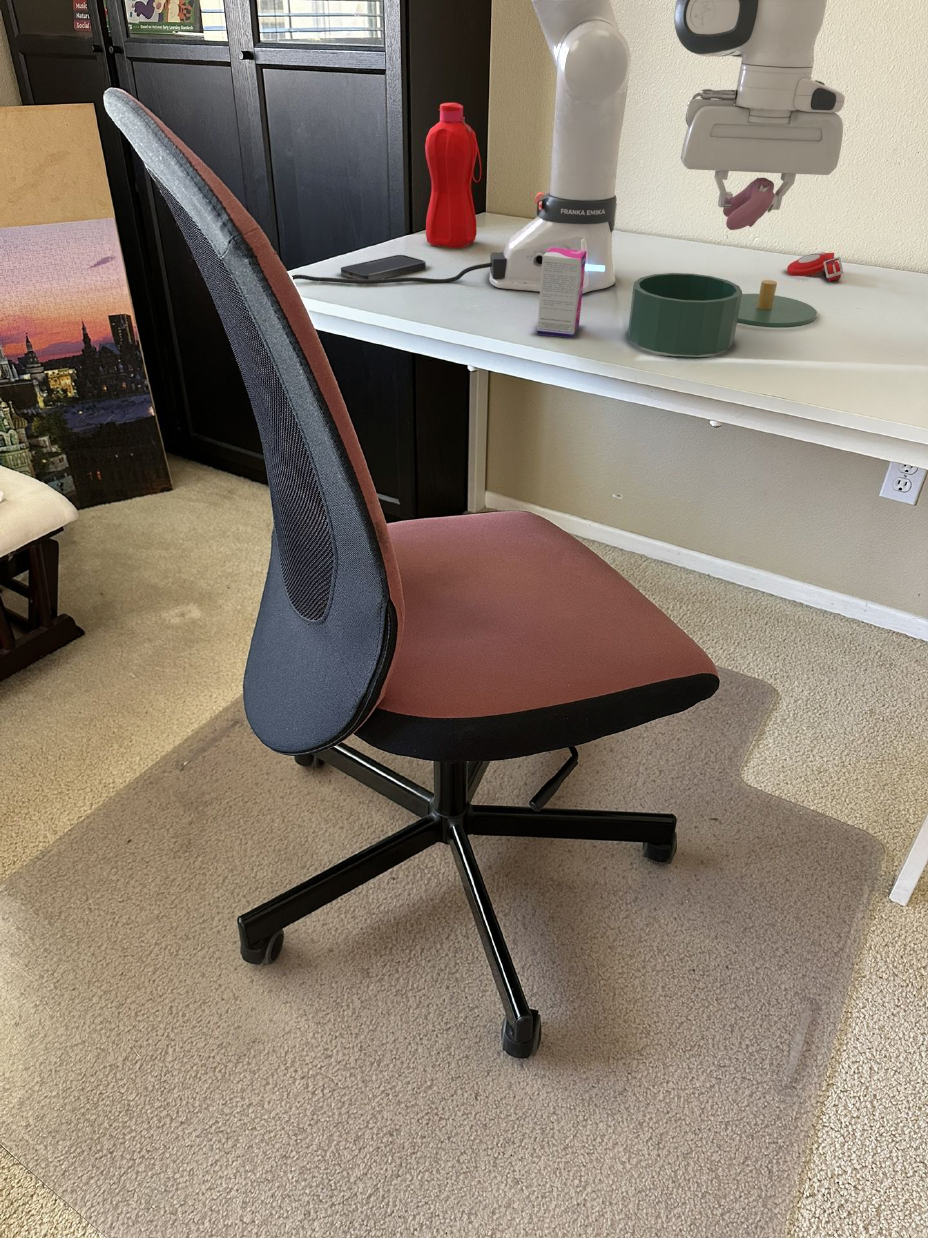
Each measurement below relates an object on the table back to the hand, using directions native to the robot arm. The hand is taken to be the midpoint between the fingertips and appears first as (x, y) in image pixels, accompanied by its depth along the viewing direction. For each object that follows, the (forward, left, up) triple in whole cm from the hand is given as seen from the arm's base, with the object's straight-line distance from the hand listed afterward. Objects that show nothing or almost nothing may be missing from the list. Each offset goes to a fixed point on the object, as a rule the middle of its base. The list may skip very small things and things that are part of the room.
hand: (748, 207), depth 123 cm
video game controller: (0, 0, -2) cm, 2 cm away
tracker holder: (+22, +40, -19) cm, 49 cm away
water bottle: (-46, +57, -19) cm, 75 cm away
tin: (-7, 0, -19) cm, 20 cm away
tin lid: (+8, +15, -18) cm, 25 cm away
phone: (-57, +34, -19) cm, 69 cm away
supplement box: (-25, +3, -19) cm, 31 cm away
